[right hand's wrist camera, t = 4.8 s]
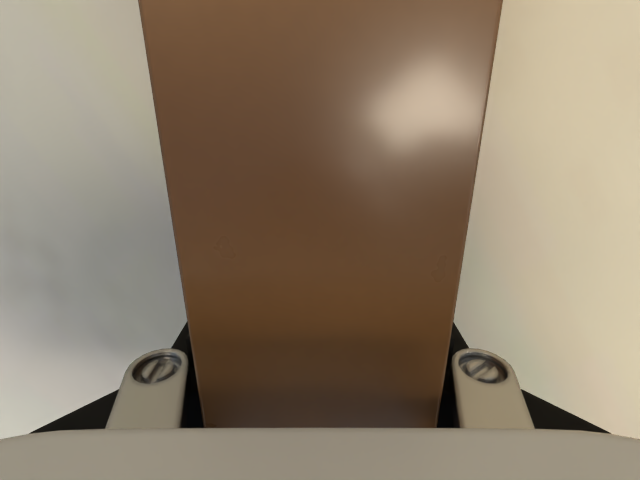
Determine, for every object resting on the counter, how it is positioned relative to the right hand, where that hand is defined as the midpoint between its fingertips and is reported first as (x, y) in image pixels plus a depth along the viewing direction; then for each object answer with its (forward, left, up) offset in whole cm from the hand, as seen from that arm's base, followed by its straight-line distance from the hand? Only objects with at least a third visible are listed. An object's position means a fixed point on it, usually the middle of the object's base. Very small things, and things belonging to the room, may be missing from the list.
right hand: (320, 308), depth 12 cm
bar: (-7, -22, -3) cm, 24 cm away
